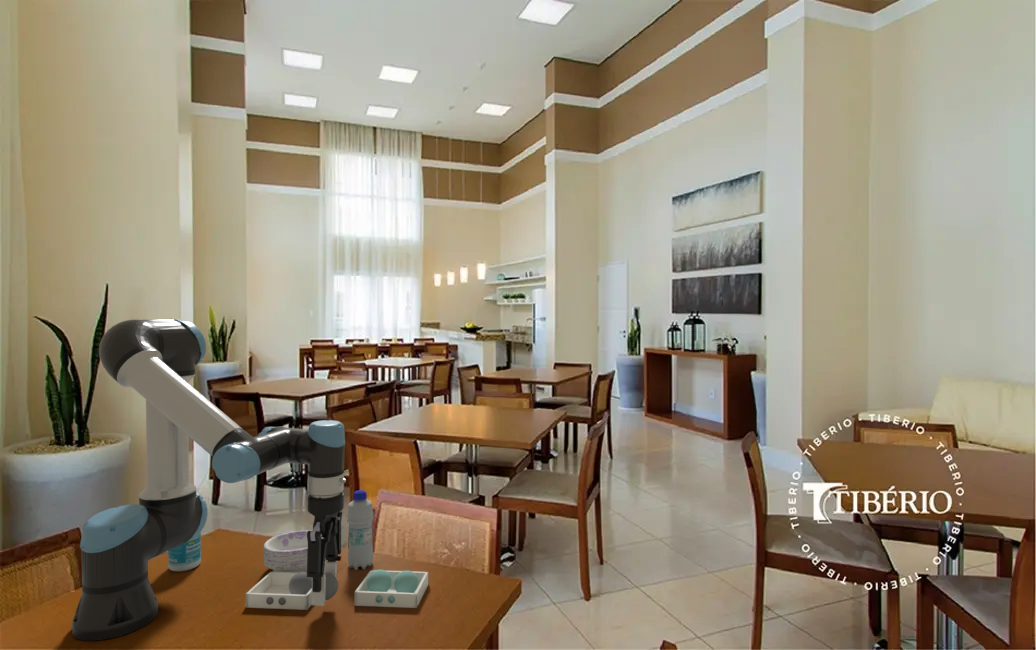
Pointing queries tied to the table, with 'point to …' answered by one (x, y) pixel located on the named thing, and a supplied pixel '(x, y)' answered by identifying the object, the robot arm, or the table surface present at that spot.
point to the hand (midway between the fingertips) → (324, 597)
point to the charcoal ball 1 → (300, 583)
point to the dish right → (391, 593)
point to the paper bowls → (287, 552)
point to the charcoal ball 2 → (330, 586)
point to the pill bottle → (185, 555)
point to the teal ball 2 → (406, 582)
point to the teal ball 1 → (379, 581)
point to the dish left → (277, 593)
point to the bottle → (360, 531)
